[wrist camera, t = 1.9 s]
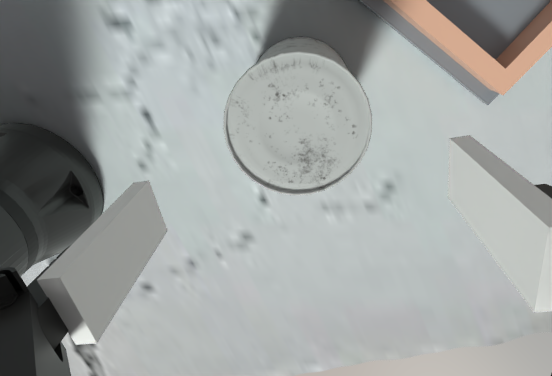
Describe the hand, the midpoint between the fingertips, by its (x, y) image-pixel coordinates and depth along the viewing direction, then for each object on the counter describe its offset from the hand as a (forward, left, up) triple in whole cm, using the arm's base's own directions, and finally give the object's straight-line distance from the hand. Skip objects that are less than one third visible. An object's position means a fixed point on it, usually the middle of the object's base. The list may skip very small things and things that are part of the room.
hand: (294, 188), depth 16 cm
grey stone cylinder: (0, 0, -21) cm, 21 cm away
